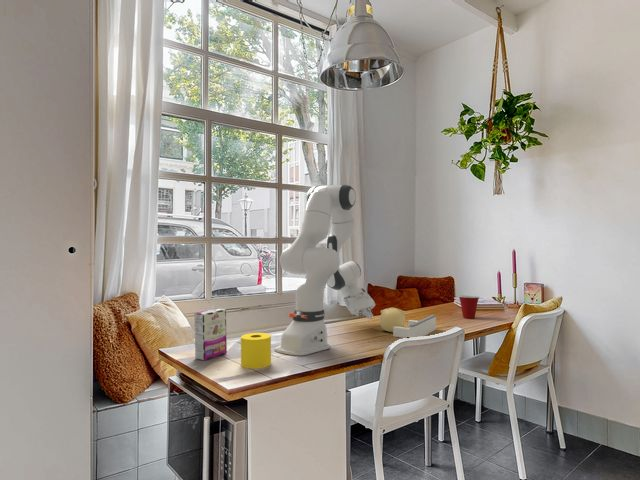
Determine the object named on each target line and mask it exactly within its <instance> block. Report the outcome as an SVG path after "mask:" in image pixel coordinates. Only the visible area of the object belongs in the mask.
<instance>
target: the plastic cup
mask: <svg viewBox="0 0 640 480" xmlns="http://www.w3.org/2000/svg"><path fill="white" fill-rule="evenodd" d="M458 298H459V302H460V307H461V313H462V317H463V319H467V320H468V319H469V320H474V319H475V318H476V314H477V313H476V312H477V307H478V304H479V303H478V302H479V299H480V296H476V295H458Z"/></svg>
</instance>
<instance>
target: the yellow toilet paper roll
mask: <svg viewBox="0 0 640 480" xmlns="http://www.w3.org/2000/svg"><path fill="white" fill-rule="evenodd" d="M271 338H272V335H271V334H269V333H265V332H251V333H245V334H242V335H241V336H240V366H241V367H243V368H245V369H252V370H253V369H255V370H256V369H264V368H267V367H270V366H271V364H272V339H271Z"/></svg>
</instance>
